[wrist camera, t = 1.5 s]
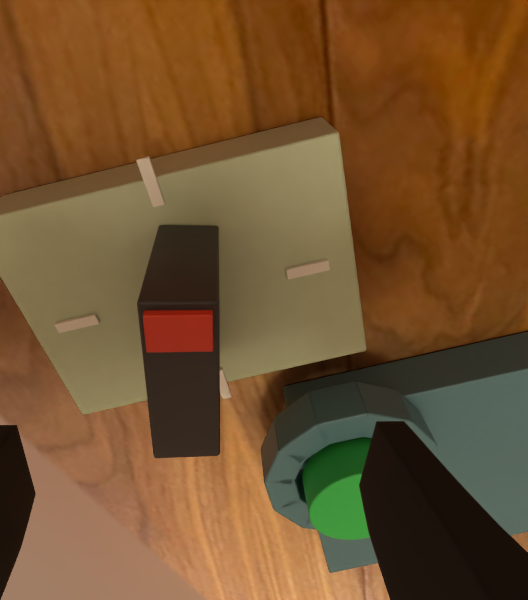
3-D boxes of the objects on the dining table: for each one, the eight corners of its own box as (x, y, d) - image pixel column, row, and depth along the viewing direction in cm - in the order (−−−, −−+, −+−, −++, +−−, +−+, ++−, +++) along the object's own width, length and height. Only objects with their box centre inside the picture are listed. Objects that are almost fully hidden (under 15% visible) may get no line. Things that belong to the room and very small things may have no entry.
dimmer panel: (102, 383, 20) (87, 429, 18) (-9, 177, 15) (-48, 205, 13) (352, 326, 20) (370, 366, 17) (319, 96, 15) (338, 110, 13)
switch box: (297, 540, 27) (309, 614, 24) (243, 369, 20) (249, 439, 17) (594, 477, 27) (650, 545, 23) (644, 278, 20) (735, 332, 16)
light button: (310, 509, 20) (317, 549, 19) (293, 448, 18) (300, 487, 16) (401, 490, 20) (416, 528, 18) (395, 426, 18) (412, 463, 16)
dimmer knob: (219, 355, 17) (220, 464, 13) (168, 356, 16) (152, 466, 12) (218, 224, 14) (219, 307, 10) (158, 224, 14) (134, 307, 10)
